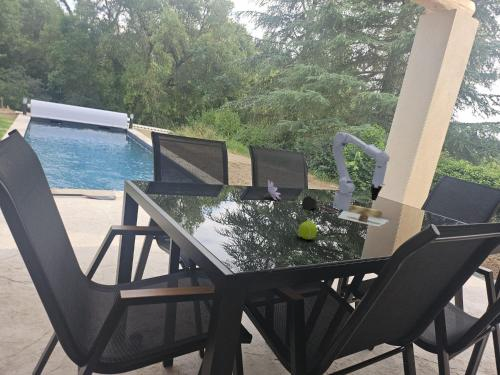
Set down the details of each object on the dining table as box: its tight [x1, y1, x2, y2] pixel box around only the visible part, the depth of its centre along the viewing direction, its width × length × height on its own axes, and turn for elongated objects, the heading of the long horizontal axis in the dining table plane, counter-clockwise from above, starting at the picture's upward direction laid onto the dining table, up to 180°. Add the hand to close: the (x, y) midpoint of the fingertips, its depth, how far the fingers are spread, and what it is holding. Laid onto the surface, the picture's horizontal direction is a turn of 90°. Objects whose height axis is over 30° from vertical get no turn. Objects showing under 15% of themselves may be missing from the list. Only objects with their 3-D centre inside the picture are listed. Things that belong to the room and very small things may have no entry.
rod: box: [347, 204, 383, 219], centre depth 193 cm, size 16×3×3 cm, turn 69°
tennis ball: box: [298, 220, 318, 240], centre depth 148 cm, size 7×7×7 cm
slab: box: [337, 210, 389, 228], centre depth 198 cm, size 24×22×1 cm
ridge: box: [359, 215, 368, 223], centre depth 194 cm, size 4×8×3 cm, turn 159°
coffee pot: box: [301, 195, 338, 214], centre depth 204 cm, size 8×18×8 cm
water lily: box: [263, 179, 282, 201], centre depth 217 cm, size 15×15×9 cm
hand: (374, 199), depth 208 cm, fingers open, 7 cm apart
